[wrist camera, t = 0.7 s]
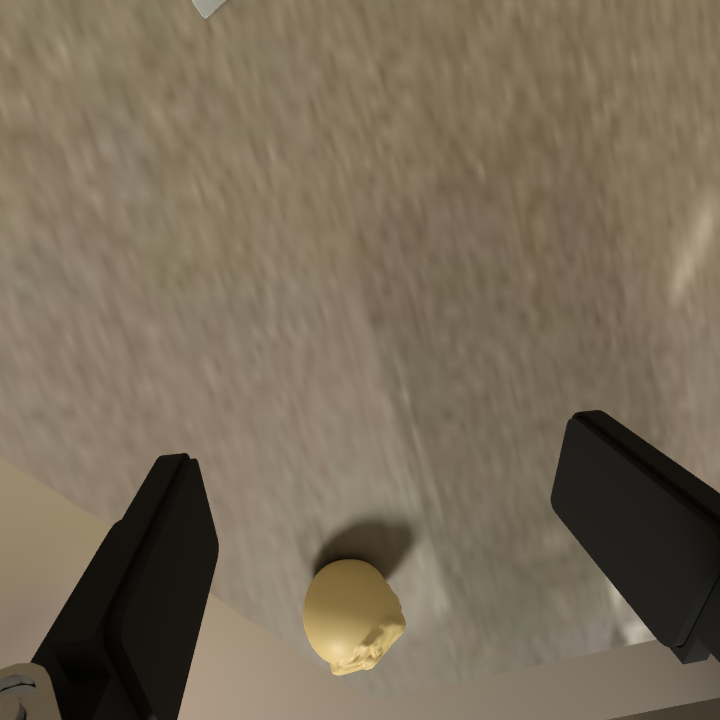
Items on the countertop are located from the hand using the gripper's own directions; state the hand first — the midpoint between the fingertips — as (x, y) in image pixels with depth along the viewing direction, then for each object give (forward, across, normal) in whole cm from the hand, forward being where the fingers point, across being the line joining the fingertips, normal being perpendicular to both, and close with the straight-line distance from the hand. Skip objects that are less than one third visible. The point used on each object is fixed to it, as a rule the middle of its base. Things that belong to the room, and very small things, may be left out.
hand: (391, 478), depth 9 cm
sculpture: (+29, 0, +42) cm, 51 cm away
